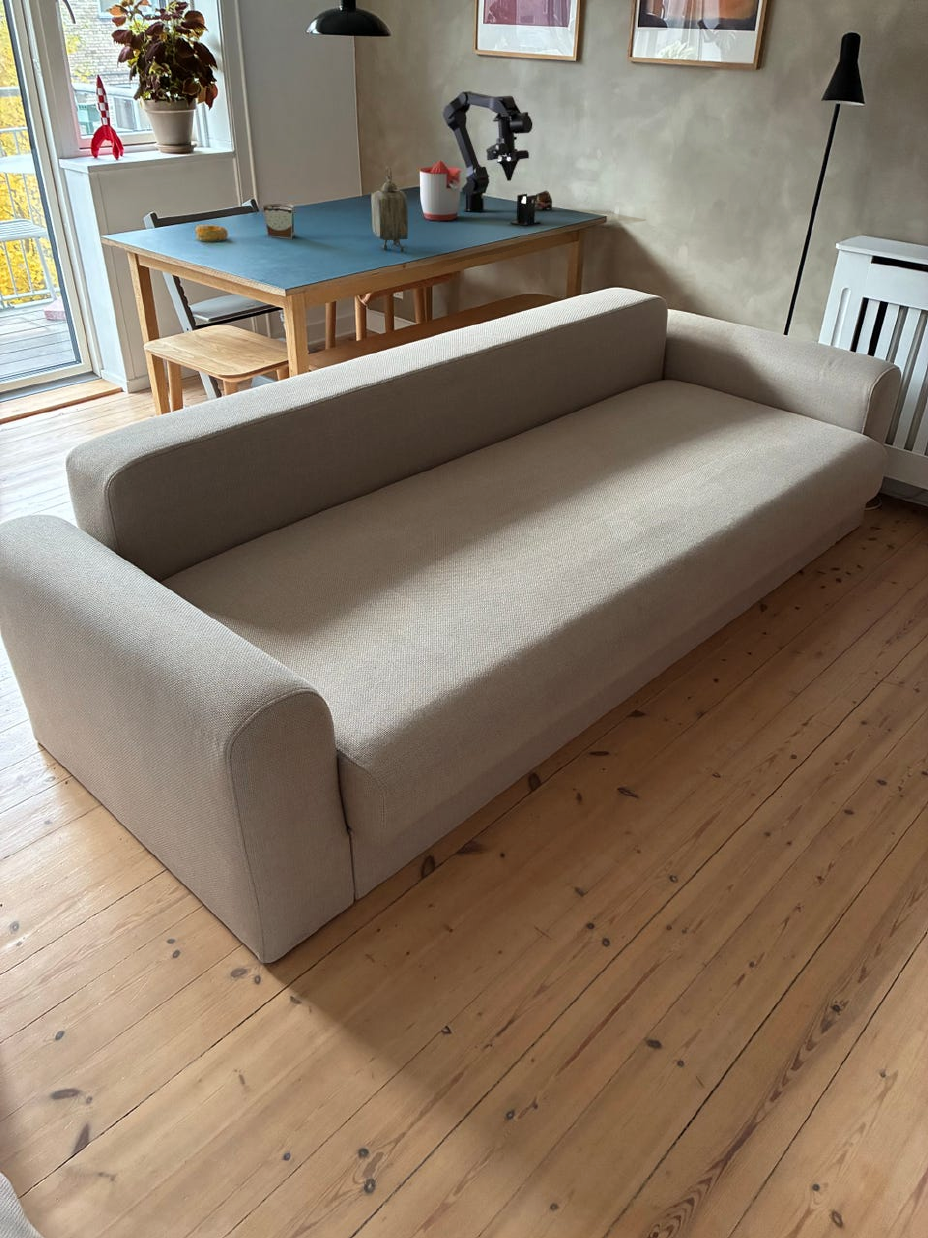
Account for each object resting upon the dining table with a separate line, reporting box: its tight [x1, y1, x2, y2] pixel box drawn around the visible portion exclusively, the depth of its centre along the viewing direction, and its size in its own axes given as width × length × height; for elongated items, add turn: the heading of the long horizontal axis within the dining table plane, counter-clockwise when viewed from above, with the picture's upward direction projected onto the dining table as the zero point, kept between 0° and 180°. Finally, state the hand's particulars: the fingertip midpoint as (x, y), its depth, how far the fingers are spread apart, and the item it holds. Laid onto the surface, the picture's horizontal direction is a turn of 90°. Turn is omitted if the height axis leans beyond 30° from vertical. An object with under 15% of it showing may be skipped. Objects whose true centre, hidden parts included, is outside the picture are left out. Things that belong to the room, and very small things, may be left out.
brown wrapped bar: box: [521, 196, 546, 207], centre depth 349 cm, size 10×5×2 cm, turn 137°
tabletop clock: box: [370, 166, 409, 253], centre depth 309 cm, size 14×9×25 cm, turn 17°
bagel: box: [195, 224, 229, 243], centre depth 326 cm, size 10×11×5 cm
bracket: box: [509, 193, 541, 228], centre depth 348 cm, size 9×7×10 cm
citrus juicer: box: [418, 160, 462, 222], centre depth 355 cm, size 16×17×20 cm
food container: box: [261, 203, 296, 239], centre depth 330 cm, size 12×6×10 cm, turn 71°
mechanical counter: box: [535, 190, 553, 211], centre depth 373 cm, size 7×13×10 cm
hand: (509, 180), depth 358 cm, fingers closed
